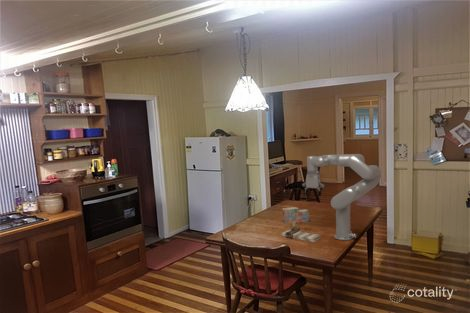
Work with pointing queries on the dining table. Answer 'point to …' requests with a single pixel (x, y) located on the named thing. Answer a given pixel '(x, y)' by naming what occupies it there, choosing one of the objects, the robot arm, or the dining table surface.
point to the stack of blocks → (295, 215)
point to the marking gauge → (292, 230)
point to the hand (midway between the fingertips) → (313, 195)
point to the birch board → (304, 236)
